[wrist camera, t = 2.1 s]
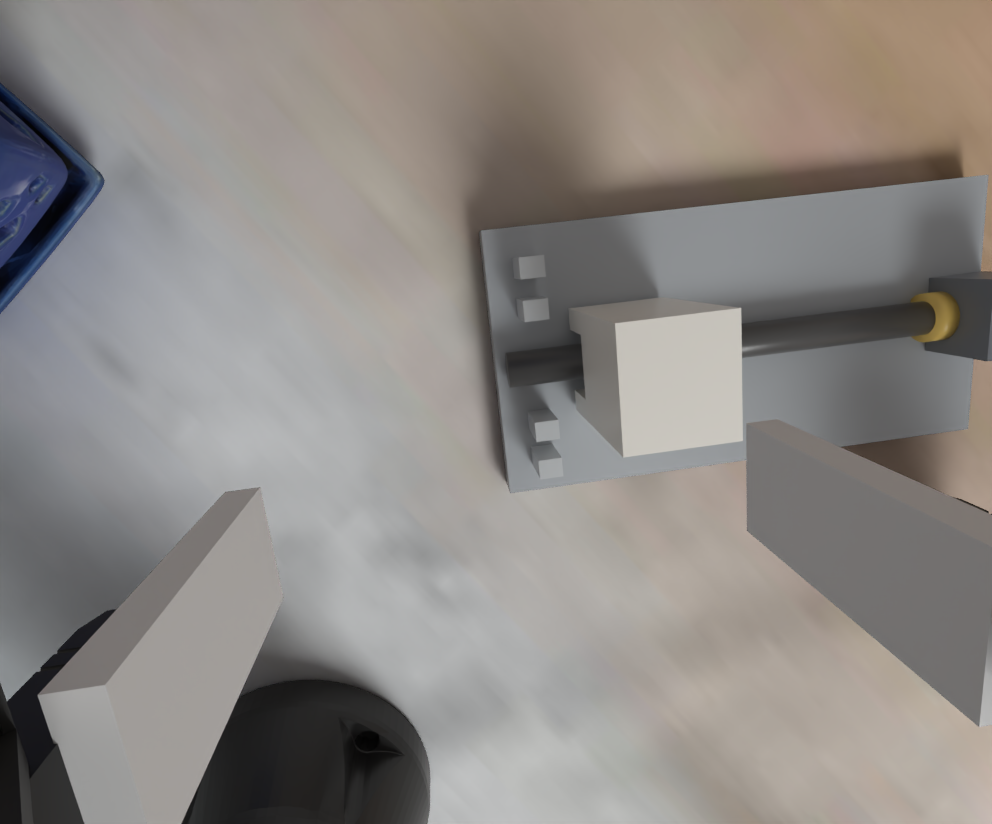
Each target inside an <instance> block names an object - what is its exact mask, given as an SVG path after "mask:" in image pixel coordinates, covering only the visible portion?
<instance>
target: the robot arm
mask: <svg viewBox="0 0 992 824" xmlns="http://www.w3.org/2000/svg"><path fill="white" fill-rule="evenodd" d="M746 469H747V531H748V532H749V533H750V534H751V535H753V536H754V537H755V538H756V539H757V540H759V541H760V542H761V543H762V544H763V545H765V546H766V547H767V548H768V549H769V550H770V551H772V552H773V553H774V554H775V555H776V556H778V557H779V558H780V559H781V560H782V561H783V562H785V563H786V564H787V565H788V566H789V567H791V568H792V569H793V570H794V571H795V572H796V573H798V574H799V575H800V576H801V577H802V578H804V579H805V580H806V581H807V582H808V583H809V584H811V585H812V586H813V587H814V588H815V589H817V590H818V591H819V592H820V593H821V594H822V595H824V596H825V597H826V598H827V599H828V600H830V601H831V602H832V603H833V604H834V605H835V606H837V607H838V608H839V609H840V610H841V611H843V612H844V613H845V614H846V615H847V616H848V617H850V618H851V619H852V620H853V621H854V622H856V623H857V624H858V625H859V626H860V627H861V628H863V629H864V630H865V631H866V632H867V633H869V634H870V635H871V636H872V637H873V638H874V639H876V640H877V641H878V642H879V643H880V644H882V645H883V646H884V647H885V648H886V649H887V650H889V651H890V652H891V653H892V654H893V655H895V656H896V657H897V658H898V659H899V660H901V661H902V662H903V663H904V664H905V665H906V666H908V667H909V668H910V669H911V670H912V671H914V672H915V673H916V674H917V675H918V676H919V677H921V678H922V679H923V680H924V681H925V682H927V683H928V684H929V685H930V686H931V687H932V688H934V689H935V690H936V691H937V692H938V693H940V694H941V695H942V696H943V697H944V698H945V699H947V700H948V701H949V702H950V703H951V704H953V705H954V706H955V707H956V708H957V709H958V710H960V711H961V712H962V713H963V714H964V715H966V716H967V717H968V718H969V719H970V720H971V721H973V722H974V723H975V724H976V725H977V726H979V727H982V726H988V725H992V514H989V513H988V511H987V510H984V509H982V508H980V507H978V506H975V505H973V504H971V503H969V502H966V501H964V500H962V499H958V498H954V497H951V496H949V495H946V494H944V493H942V492H940V491H937V490H935V489H933V488H931V487H928V486H926V485H924V484H922V483H919V482H917V481H915V480H913V479H910V478H908V477H906V476H904V475H901V474H899V473H897V472H895V471H893V470H890V469H888V468H886V467H884V466H881V465H879V464H877V463H875V462H872V461H870V460H868V459H866V458H863V457H861V456H859V455H857V454H854V453H852V452H850V451H848V450H845V449H843V448H841V447H839V446H836V445H834V444H832V443H830V442H828V441H825V440H823V439H821V438H819V437H816V436H814V435H812V434H810V433H807V432H805V431H803V430H801V429H798V428H796V427H794V426H792V425H789V424H787V423H785V422H783V421H780V420H778V419H774V420H767V421H759V422H752V423H746ZM283 598H284V597H283V593H282V588H281V583H280V578H279V574H278V569H277V564H276V560H275V555H274V550H273V545H272V541H271V536H270V531H269V527H268V522H267V517H266V512H265V508H264V503H263V498H262V493H261V489H260V487H259V488H252V489H244V490H237V491H229V492H225V493H224V494H223V495H222V496H221V497H220V498H219V499H218V500H217V501H216V502H215V504H214V505H213V506H212V507H211V508H210V509H209V510H208V511H207V512H206V513H205V514H204V515H203V517H202V518H201V519H200V520H199V521H198V522H197V523H196V524H195V525H194V526H193V527H192V528H191V530H190V531H189V532H188V533H187V534H186V535H185V536H184V537H183V538H182V539H181V540H180V541H179V543H178V544H177V545H176V546H175V547H174V548H173V549H172V550H171V551H170V552H169V553H168V554H167V555H166V557H165V558H164V559H163V560H162V561H161V562H160V563H159V564H158V565H157V566H156V567H155V568H154V570H153V571H152V572H151V573H150V574H149V575H148V576H147V577H146V578H145V579H144V580H143V581H142V583H141V584H140V585H139V586H138V587H137V588H136V589H135V590H134V591H133V592H132V593H131V594H130V596H129V597H128V598H127V599H126V600H125V601H124V602H123V603H122V604H121V605H120V606H119V607H118V609H115V610H108V611H106V612H104V613H103V614H101V615H100V616H98V617H97V618H95V619H94V620H92V621H90V622H89V623H87V624H86V625H84V626H83V627H81V628H80V629H78V630H77V631H76V632H75V633H74V634H73V635H72V636H71V637H70V638H69V639H68V640H67V641H66V642H65V643H64V644H63V645H62V646H61V647H60V648H59V649H58V653H57V654H54V655H53V656H52V657H51V658H50V659H49V660H48V661H47V662H46V663H45V664H44V665H43V666H42V667H41V671H40V672H36V673H35V674H34V675H33V676H32V677H31V678H30V679H29V680H28V681H27V682H26V683H25V684H24V685H23V686H22V687H21V688H20V689H19V690H18V691H17V692H16V693H15V694H14V695H13V696H12V697H11V698H10V699H9V700H8V702H7V701H6V698H5V695H4V692H3V689H2V687H1V684H0V824H427V823H428V817H429V811H430V768H429V762H428V757H427V754H426V751H425V748H424V746H423V743H422V741H421V739H420V737H419V736H418V734H417V732H416V731H415V729H414V728H413V727H412V725H411V724H410V723H409V722H408V721H407V719H406V718H405V717H404V716H403V715H402V714H401V713H400V712H398V711H397V710H396V709H395V708H394V707H392V706H391V705H390V704H388V703H387V702H385V701H384V700H382V699H380V698H379V697H377V696H375V695H373V694H371V693H369V692H366V691H364V690H362V689H359V688H356V687H353V686H349V685H345V684H341V683H336V682H330V681H319V680H300V681H290V682H283V683H278V684H274V685H270V686H266V687H263V688H260V689H257V690H255V691H252V692H250V693H248V694H246V695H244V696H242V697H240V698H238V697H239V695H240V693H241V691H242V689H243V686H244V684H245V682H246V680H247V678H248V675H249V673H250V671H251V669H252V667H253V664H254V662H255V660H256V658H257V655H258V653H259V651H260V649H261V647H262V644H263V642H264V640H265V638H266V636H267V633H268V631H269V629H270V627H271V625H272V622H273V620H274V618H275V616H276V614H277V611H278V609H279V607H280V605H281V602H282V600H283Z"/></svg>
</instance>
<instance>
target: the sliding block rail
mask: <svg viewBox="0 0 992 824" xmlns="http://www.w3.org/2000/svg"><path fill="white" fill-rule="evenodd" d="M987 186H988V175H982V176H973V177H964V178H955V179H946V180H936V181H927V182H918V183H909V184H900V185H891V186H882V187H873V188H864V189H855V190H845V191H836V192H827V193H818V194H809V195H800V196H791V197H782V198H773V199H764V200H754V201H745V202H736V203H727V204H718V205H709V206H700V207H691V208H682V209H673V210H663V211H654V212H645V213H636V214H627V215H618V216H609V217H600V218H591V219H581V220H572V221H563V222H554V223H545V224H536V225H527V226H518V227H509V228H500V229H490V230H481V231H480V232H479V238H480V247H481V255H482V264H483V273H484V282H485V291H486V300H487V309H488V318H489V327H490V336H491V345H492V354H493V363H494V371H495V380H496V389H497V398H498V407H499V416H500V425H501V434H502V443H503V452H504V461H505V470H506V479H507V485H508V488H509V491H510V493H515V492H522V491H529V490H537V489H544V488H551V487H558V486H565V485H572V484H579V483H586V482H594V481H601V480H608V479H615V478H622V477H629V476H636V475H644V474H651V473H658V472H665V471H672V470H679V469H686V468H693V467H701V466H708V465H715V464H722V463H729V462H736V461H743V460H746V423H752V422H759V421H767V420H774V419H778V420H780V421H783V422H785V423H787V424H789V425H792V426H794V427H796V428H798V429H801V430H803V431H805V432H807V433H810V434H812V435H814V436H816V437H819V438H821V439H823V440H825V441H828V442H830V443H832V444H834V445H836V446H839V447H843V446H850V445H857V444H865V443H872V442H879V441H886V440H893V439H900V438H907V437H915V436H922V435H929V434H936V433H943V432H950V431H957V430H964V429H968V422H969V410H970V397H971V385H972V372H973V360H974V359H977V360H983V361H992V272H982V271H981V260H982V248H983V236H984V223H985V211H986V198H987ZM660 297H665V298H673V299H680V300H687V301H695V302H702V303H709V304H716V305H724V306H731V307H738V308H741V325H742V406H743V441H740V442H733V443H725V444H718V445H711V446H704V447H696V448H689V449H682V450H675V451H667V452H660V453H653V454H646V455H638V456H631V457H624V458H623V457H622V456H621V455H620V454H619V453H618V452H617V451H616V450H615V449H614V448H613V447H612V446H611V444H610V443H609V442H608V441H607V440H606V439H605V438H604V437H603V436H602V435H601V434H600V433H599V432H598V431H597V430H596V429H595V428H594V427H593V426H592V425H591V424H590V423H589V422H588V421H587V420H586V419H585V418H584V417H583V416H582V415H581V414H580V413H579V412H578V411H577V410H576V399H575V390H578V389H585V385H584V371H583V358H582V345H581V335H580V334H578V333H576V332H574V331H571V330H570V324H569V311H568V308H576V307H585V306H593V305H601V304H610V303H618V302H626V301H635V300H643V299H651V298H660Z"/></svg>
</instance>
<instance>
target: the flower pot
mask: <svg viewBox="0 0 992 824" xmlns="http://www.w3.org/2000/svg"><path fill="white" fill-rule="evenodd" d="M103 185H104V178H103V176H102V175H101V173H100V172H99V171H98V170H97V169H96V168H95V167H93V166H92V165H91V164H90V163H89V162H88V161H87V160H86V159H85V158H84V157H83V156H82V155H80V154H79V153H78V152H77V151H76V150H75V149H74V148H73V147H72V146H71V145H69V144H68V143H67V142H66V141H65V140H64V139H63V138H62V137H61V136H59V135H58V134H57V133H56V132H55V131H54V130H53V129H52V128H51V127H49V126H48V125H47V124H46V123H45V122H44V121H43V120H42V119H41V118H40V117H38V116H37V115H36V114H35V113H34V112H33V111H32V110H31V109H29V108H28V107H27V106H26V105H25V104H24V103H23V102H22V101H20V100H19V99H18V98H17V97H16V96H15V95H13V94H12V93H11V92H10V91H9V90H8V89H7V88H5V87H4V86H3V85H2V84H1V83H0V314H1V312H2V311H3V310H4V309H5V308H6V307H7V305H8V304H9V303H10V302H11V301H12V300H13V299H14V297H15V296H16V295H17V294H18V293H19V292H20V290H21V289H22V288H23V287H24V286H25V284H26V283H27V282H28V281H29V280H30V279H31V277H32V276H33V275H34V274H35V273H36V271H37V270H38V269H39V268H40V267H41V265H42V264H43V263H44V262H45V261H46V259H47V258H48V257H49V256H50V255H51V253H52V252H53V251H54V250H55V248H56V247H57V246H58V245H59V243H60V242H61V241H62V240H63V239H64V237H65V236H66V235H67V233H68V232H69V231H70V230H71V228H72V227H73V226H74V225H75V223H76V222H77V221H78V220H79V218H80V217H81V216H82V214H83V213H84V212H85V211H86V209H87V208H88V207H89V206H90V204H91V203H92V202H93V200H94V199H95V198H96V196H97V195H98V193H99V192H100V191H101V189H102V187H103Z"/></svg>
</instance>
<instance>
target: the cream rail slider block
mask: <svg viewBox="0 0 992 824" xmlns="http://www.w3.org/2000/svg"><path fill="white" fill-rule="evenodd" d="M568 311H569V324H570V330H571V331H574V332H576V333H578V334H580V335H581V345H582V358H583V371H584V385H585V389H578V390H575V399H576V410H577V411H578V412H579V413H580V414H581V415H582V416H583V417H584V418H585V419H586V420H587V421H588V422H589V423H590V424H591V425H592V426H593V427H594V428H595V429H596V430H597V431H598V432H599V433H600V434H601V435H602V436H603V437H604V438H605V439H606V440H607V441H608V442H609V443H610V444H611V446H612V447H613V448H614V449H615V450H616V451H617V452H618V453H619V454H620V455H621V456H622V457H623V458H624V457H631V456H638V455H646V454H653V453H660V452H667V451H675V450H682V449H689V448H696V447H704V446H711V445H718V444H725V443H733V442H740V441H743V406H742V325H741V308H738V307H731V306H724V305H716V304H709V303H702V302H695V301H687V300H680V299H673V298H665V297H660V298H651V299H643V300H635V301H626V302H618V303H610V304H601V305H593V306H585V307H576V308H568Z"/></svg>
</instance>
